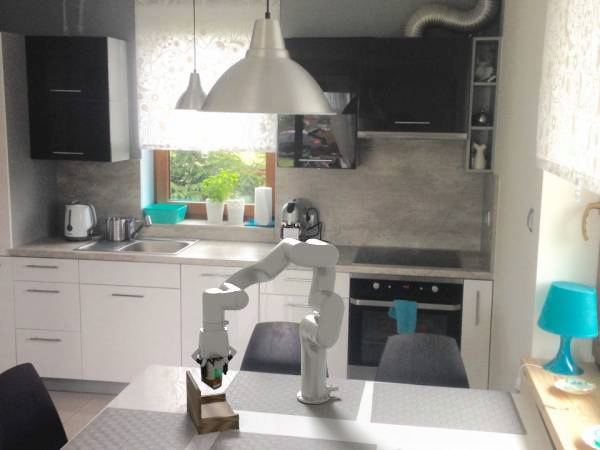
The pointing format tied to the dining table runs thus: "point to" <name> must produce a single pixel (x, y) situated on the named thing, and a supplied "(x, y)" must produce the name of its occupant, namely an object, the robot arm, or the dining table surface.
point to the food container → (213, 372)
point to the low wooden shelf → (209, 409)
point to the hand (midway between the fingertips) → (214, 374)
